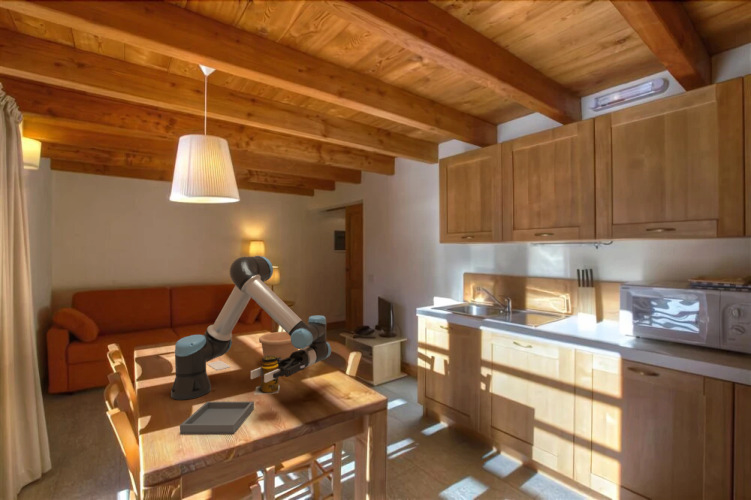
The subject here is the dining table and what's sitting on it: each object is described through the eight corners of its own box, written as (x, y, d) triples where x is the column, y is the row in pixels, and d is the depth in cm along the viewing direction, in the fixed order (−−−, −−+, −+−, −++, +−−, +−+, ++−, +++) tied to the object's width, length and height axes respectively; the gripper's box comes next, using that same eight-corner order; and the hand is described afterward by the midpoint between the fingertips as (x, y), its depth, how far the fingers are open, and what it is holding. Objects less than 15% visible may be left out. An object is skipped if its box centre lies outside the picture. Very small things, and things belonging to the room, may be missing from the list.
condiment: (278, 393, 126) (278, 359, 126) (253, 395, 124) (253, 361, 124) (280, 385, 133) (279, 353, 133) (256, 387, 131) (256, 355, 131)
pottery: (298, 354, 204) (297, 329, 204) (304, 366, 183) (304, 338, 183) (258, 359, 196) (258, 333, 196) (260, 372, 175) (260, 343, 175)
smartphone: (220, 360, 194) (231, 366, 184) (220, 361, 194) (231, 367, 184) (206, 363, 189) (216, 369, 179) (206, 365, 189) (216, 371, 179)
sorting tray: (179, 434, 117) (179, 425, 117) (207, 409, 135) (207, 401, 135) (233, 434, 116) (233, 425, 116) (253, 409, 134) (253, 401, 134)
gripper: (321, 371, 139) (278, 393, 119) (285, 364, 148) (239, 382, 128) (321, 352, 139) (278, 370, 119) (285, 346, 148) (239, 362, 128)
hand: (258, 376), depth 124 cm, fingers closed on condiment, 6 cm apart
